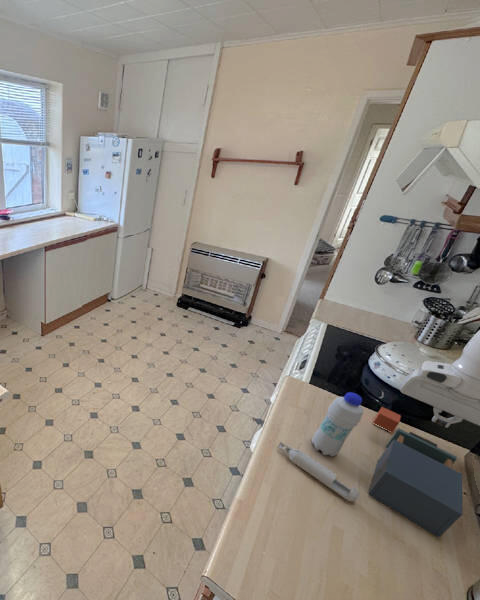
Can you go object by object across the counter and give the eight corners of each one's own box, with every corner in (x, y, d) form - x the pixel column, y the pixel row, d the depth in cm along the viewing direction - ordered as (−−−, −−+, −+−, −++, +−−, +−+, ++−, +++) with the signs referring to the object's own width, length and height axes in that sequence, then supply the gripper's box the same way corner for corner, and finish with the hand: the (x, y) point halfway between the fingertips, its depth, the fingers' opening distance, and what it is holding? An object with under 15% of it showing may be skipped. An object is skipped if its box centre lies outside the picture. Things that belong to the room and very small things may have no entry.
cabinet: (377, 460, 88) (393, 439, 84) (441, 496, 80) (462, 473, 76) (367, 494, 79) (385, 471, 75) (438, 537, 71) (462, 514, 67)
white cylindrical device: (357, 497, 78) (370, 479, 75) (351, 508, 75) (364, 491, 72) (280, 444, 90) (289, 428, 87) (273, 453, 88) (281, 436, 85)
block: (374, 417, 103) (381, 406, 101) (393, 426, 100) (401, 415, 98) (372, 424, 100) (379, 413, 98) (391, 433, 97) (399, 422, 95)
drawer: (388, 436, 95) (400, 419, 92) (442, 463, 88) (457, 446, 85) (378, 472, 84) (391, 454, 81) (439, 507, 76) (456, 489, 73)
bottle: (338, 463, 86) (374, 408, 77) (309, 451, 89) (340, 396, 80) (336, 446, 91) (369, 392, 82) (308, 435, 94) (338, 382, 85)
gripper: (536, 401, 74) (498, 443, 80) (416, 357, 87) (391, 396, 93) (541, 414, 70) (499, 457, 76) (414, 366, 83) (388, 406, 89)
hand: (439, 423), depth 84 cm, fingers closed
